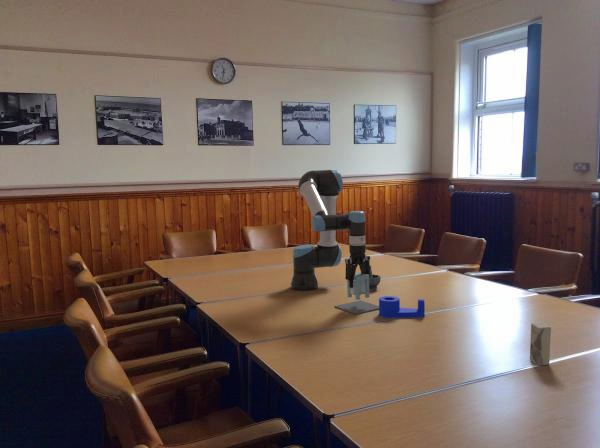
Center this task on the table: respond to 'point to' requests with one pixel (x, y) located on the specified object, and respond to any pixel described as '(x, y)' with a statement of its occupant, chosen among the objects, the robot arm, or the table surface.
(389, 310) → the bracket
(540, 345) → the grey stone block
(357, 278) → the slotted teal block
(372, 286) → the mortar and pestle
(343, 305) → the mat
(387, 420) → the table surface
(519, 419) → the table surface
